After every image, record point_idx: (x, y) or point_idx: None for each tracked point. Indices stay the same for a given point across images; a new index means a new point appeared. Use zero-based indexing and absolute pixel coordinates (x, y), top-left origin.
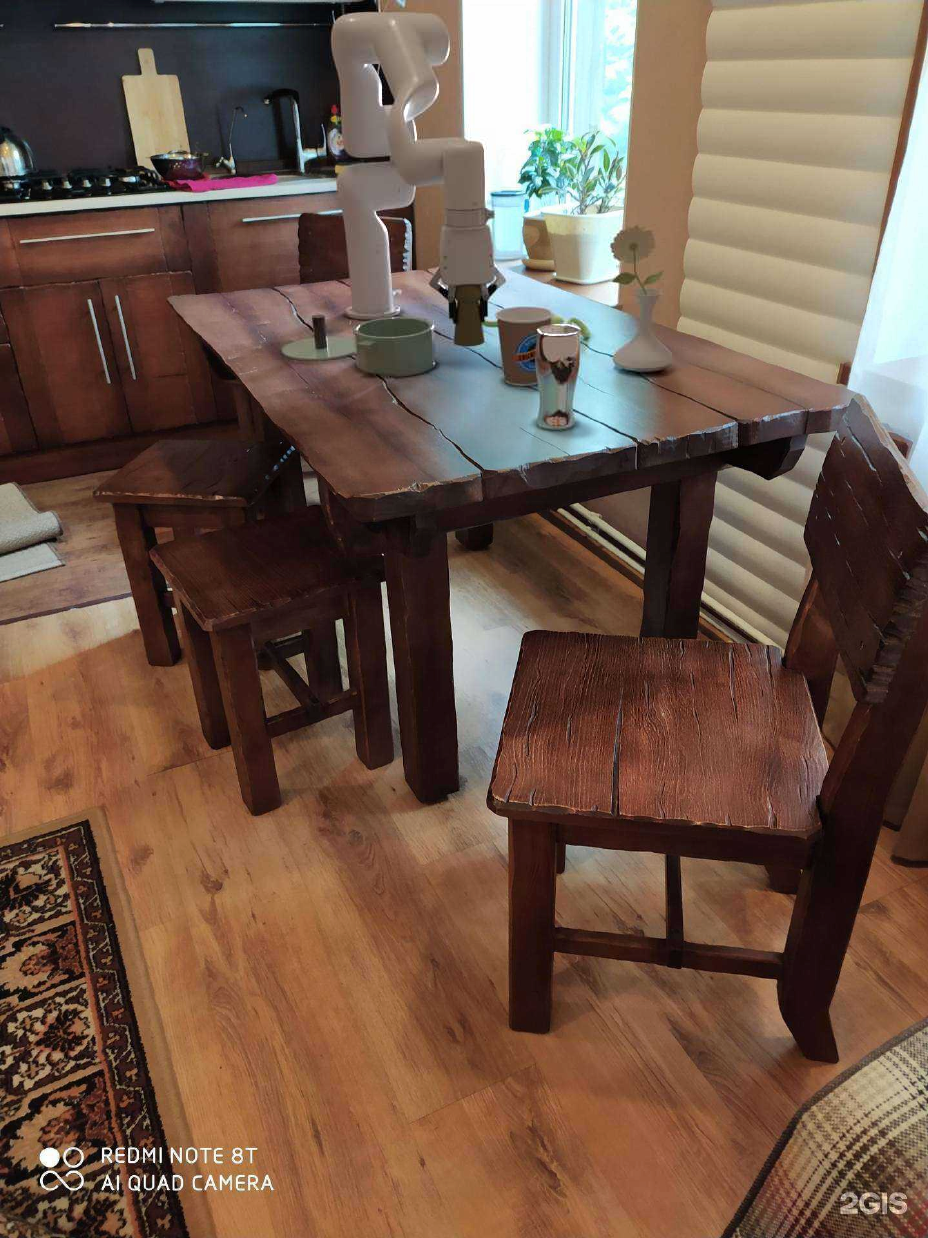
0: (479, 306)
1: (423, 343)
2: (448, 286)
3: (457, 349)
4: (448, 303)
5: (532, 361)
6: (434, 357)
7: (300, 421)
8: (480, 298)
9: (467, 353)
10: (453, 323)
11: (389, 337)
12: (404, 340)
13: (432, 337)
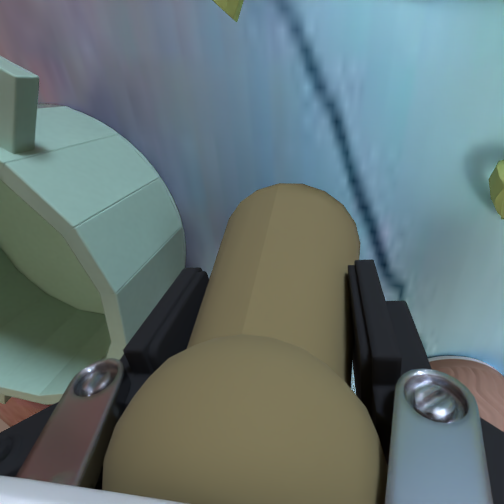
0: (351, 365)
1: None
2: (32, 469)
3: (235, 26)
4: (125, 359)
5: None
6: (176, 247)
7: None
8: (371, 382)
9: (284, 100)
10: None
11: (32, 398)
12: None
13: (143, 308)
